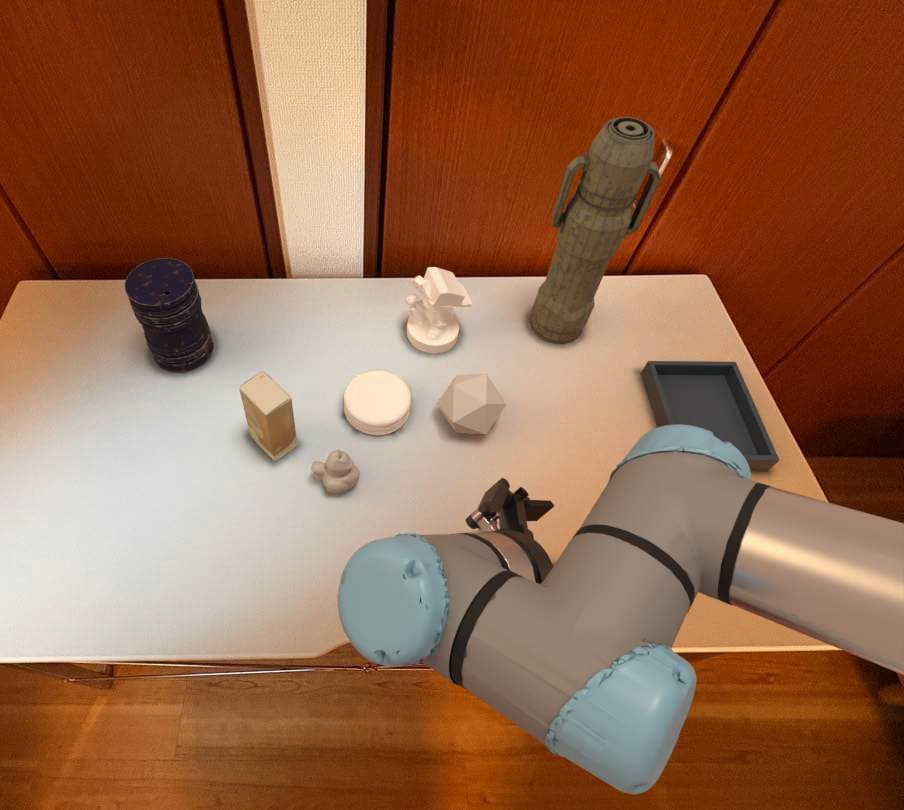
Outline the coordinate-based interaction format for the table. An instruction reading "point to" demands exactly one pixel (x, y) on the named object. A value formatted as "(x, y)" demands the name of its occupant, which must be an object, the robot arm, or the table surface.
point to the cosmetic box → (269, 415)
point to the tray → (710, 405)
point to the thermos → (594, 224)
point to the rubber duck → (336, 472)
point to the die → (471, 404)
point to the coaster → (377, 402)
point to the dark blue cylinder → (170, 314)
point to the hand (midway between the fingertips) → (584, 563)
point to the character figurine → (435, 311)
